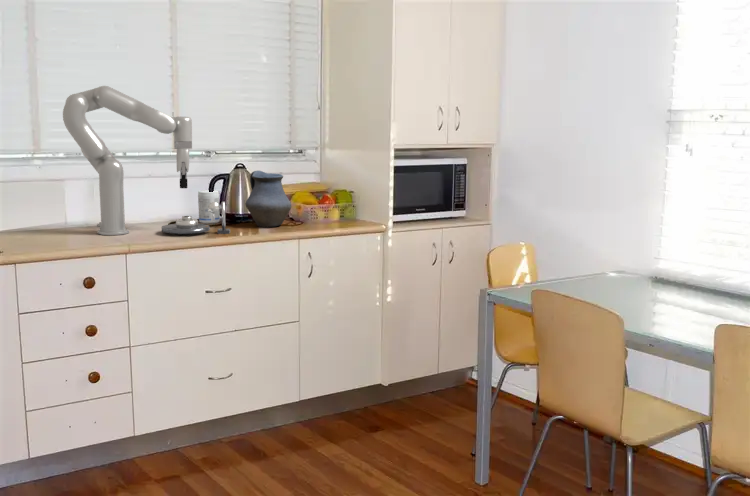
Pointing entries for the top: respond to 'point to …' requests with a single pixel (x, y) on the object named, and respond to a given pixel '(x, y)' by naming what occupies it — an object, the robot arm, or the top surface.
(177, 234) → the turntable base
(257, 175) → the pitcher
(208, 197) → the supplement tub
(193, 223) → the cast cover
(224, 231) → the dial indicator
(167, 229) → the turntable
